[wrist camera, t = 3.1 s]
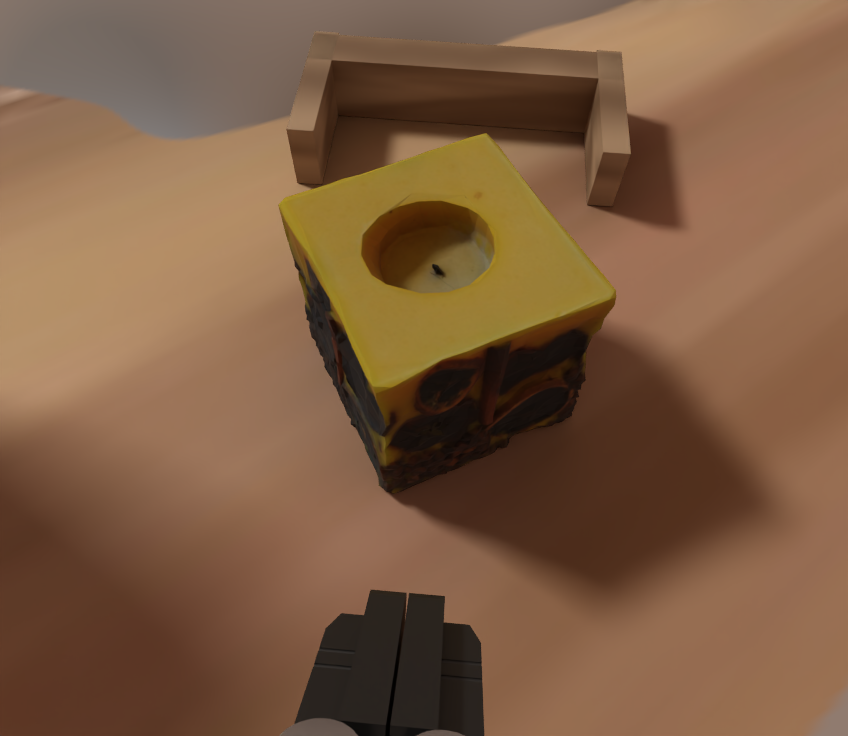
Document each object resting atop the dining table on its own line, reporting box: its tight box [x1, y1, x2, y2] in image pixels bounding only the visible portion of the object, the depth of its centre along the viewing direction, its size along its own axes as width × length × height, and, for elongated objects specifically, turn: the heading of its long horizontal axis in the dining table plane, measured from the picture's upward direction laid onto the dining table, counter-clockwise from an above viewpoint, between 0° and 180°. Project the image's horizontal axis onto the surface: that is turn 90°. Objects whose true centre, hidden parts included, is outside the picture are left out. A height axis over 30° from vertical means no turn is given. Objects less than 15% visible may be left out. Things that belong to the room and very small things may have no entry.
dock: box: [287, 31, 631, 206], centre depth 41 cm, size 9×19×4 cm, turn 85°
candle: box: [278, 133, 616, 493], centre depth 30 cm, size 10×10×10 cm
